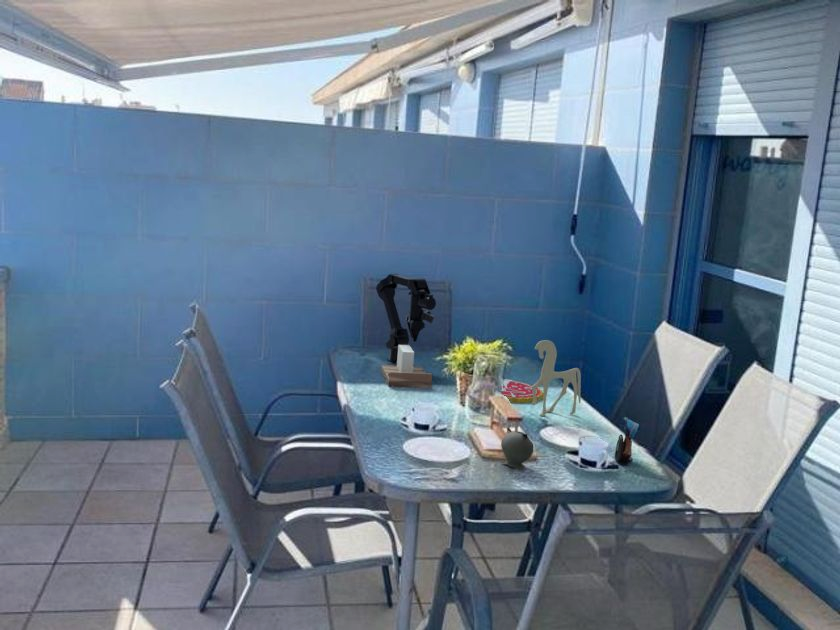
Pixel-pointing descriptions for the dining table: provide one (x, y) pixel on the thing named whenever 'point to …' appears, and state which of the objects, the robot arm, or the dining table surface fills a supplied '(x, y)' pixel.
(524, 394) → the decorative sign
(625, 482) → the dining table surface
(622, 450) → the figurine
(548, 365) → the sculpture
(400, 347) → the light gray block
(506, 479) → the dining table surface
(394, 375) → the trap deck
